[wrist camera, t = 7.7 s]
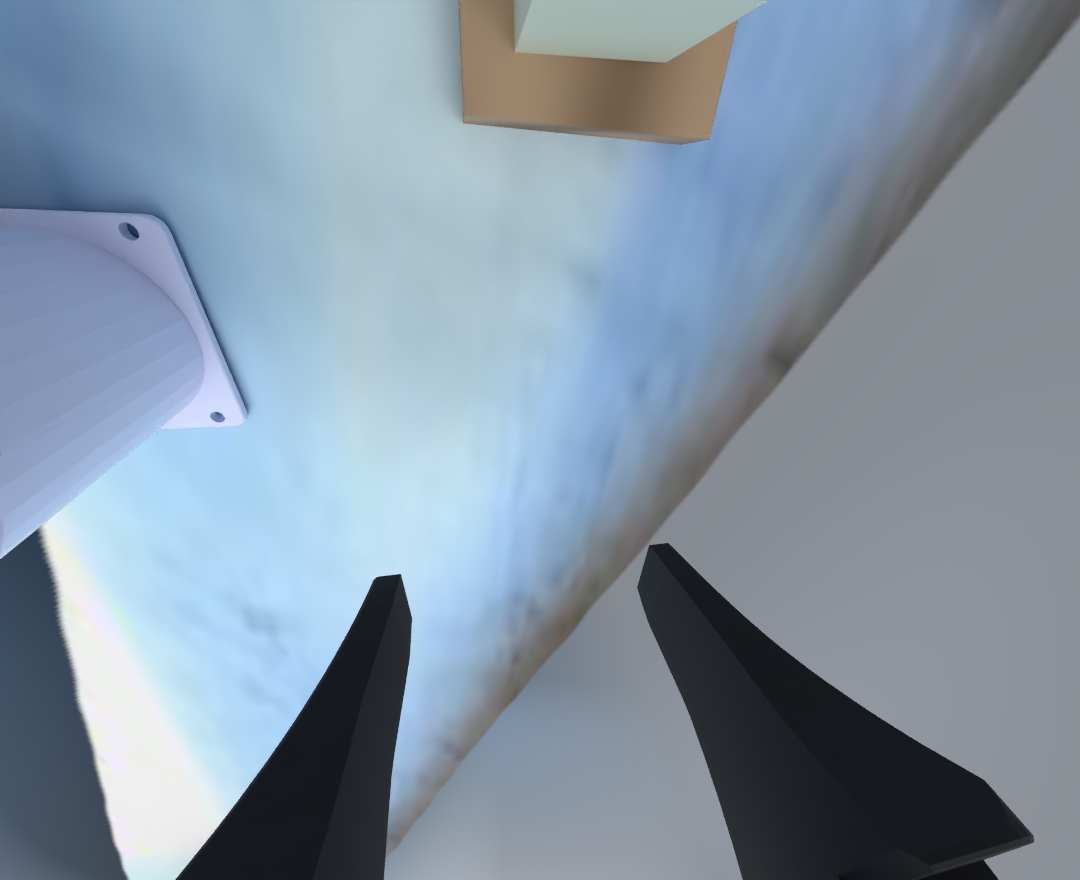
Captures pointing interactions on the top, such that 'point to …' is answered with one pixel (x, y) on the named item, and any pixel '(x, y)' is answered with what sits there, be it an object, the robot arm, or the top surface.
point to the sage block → (621, 26)
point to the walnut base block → (586, 84)
